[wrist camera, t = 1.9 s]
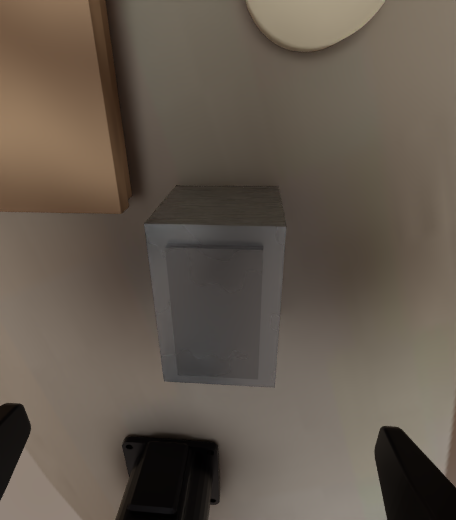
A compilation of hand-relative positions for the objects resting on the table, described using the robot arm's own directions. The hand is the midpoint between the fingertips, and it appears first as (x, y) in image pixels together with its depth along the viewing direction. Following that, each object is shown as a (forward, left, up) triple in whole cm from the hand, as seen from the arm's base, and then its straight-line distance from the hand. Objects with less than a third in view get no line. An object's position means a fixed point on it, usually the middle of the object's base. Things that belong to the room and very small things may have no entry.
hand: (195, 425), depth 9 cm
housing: (0, 0, -10) cm, 10 cm away
